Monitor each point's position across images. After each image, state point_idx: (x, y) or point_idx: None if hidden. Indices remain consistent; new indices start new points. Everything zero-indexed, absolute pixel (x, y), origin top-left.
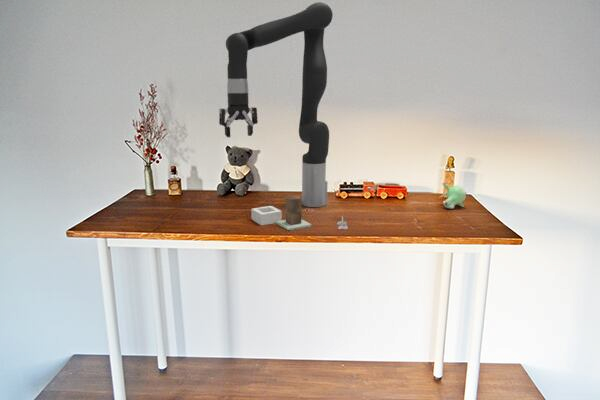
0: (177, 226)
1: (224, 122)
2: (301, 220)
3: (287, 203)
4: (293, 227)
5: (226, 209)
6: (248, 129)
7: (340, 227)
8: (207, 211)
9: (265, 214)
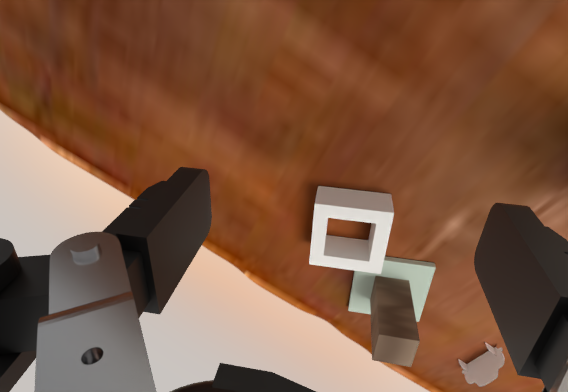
0: (99, 119)
1: (17, 371)
2: (421, 289)
3: (376, 328)
4: (363, 312)
5: (299, 24)
6: (514, 282)
7: (462, 364)
8: (222, 8)
9: (323, 264)
